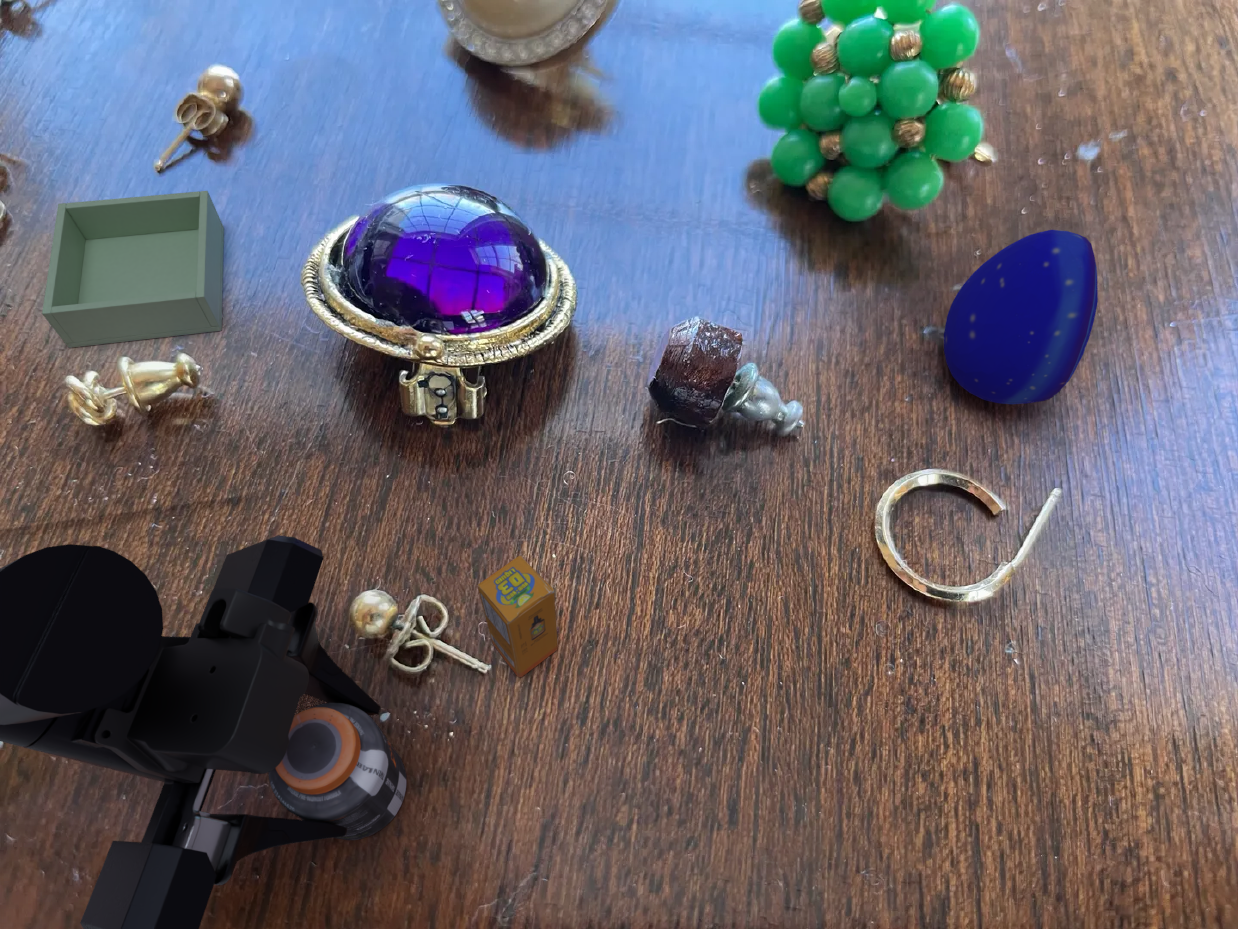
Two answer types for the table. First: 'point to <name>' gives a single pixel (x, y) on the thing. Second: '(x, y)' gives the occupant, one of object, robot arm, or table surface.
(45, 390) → the table surface
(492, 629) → the supplement box
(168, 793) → the robot arm
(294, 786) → the pill bottle
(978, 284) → the ornament
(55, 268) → the bin
